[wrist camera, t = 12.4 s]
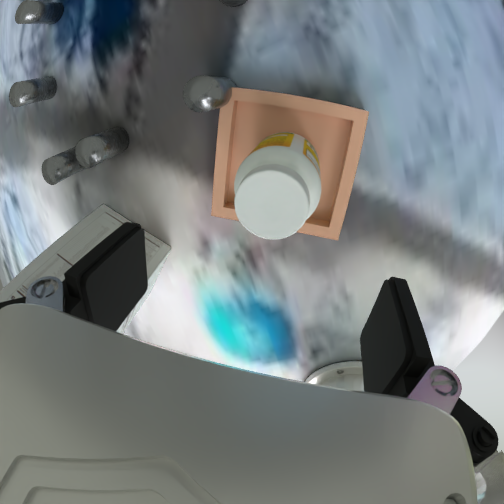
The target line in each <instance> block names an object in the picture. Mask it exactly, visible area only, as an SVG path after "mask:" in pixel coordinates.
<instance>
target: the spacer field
mask: <svg viewBox="0 0 504 504" xmlns="http://www.w3.org/2000/svg"><path fill="white" fill-rule="evenodd" d="M219 1H221V2H222V3H223V4H225V5H227V6H230V7H236V6H240V5H242V4H244V3H245V2H246V1H247V0H219ZM63 10H64V8H63V5H62V4H61V3H56V2H47V1H34V0H25V1H23V2H22V3H21V4H20V5H19V7H18V9H17V11H16V15H15V21H16V23H18V24H54V23H56V22H57V21H58V20H59V19H60V18H61V16H62V14H63ZM231 87H237V86H236V84H235V83H234V82H233V81H232V80H231V79H229V78H227V77H218V76H196V77H194V78H192V79H191V80H189V81H188V82H187V84H186V85H185V88H184V91H183V98H184V101H185V103H186V105H187V106H188V107H189V108H190V109H191V110H193V111H196V112H206V111H210V110H214V109H217V108H221V107H223V106H225V105H226V104H227V103H228V102H229V101H230V99H231V96H232V88H231ZM56 89H57V84H56V80H55V79H54V78H53V77H44V78H38V79H32V80H26V81H21V82H16V83H14V84H13V85H12V87H11V89H10V93H9V99H10V103H11V105H12V106H13V107H19V106H22V105H26V104H30V103H34V102H38V101H42V100H46V99H50V98H52V97H53V96H54V95H55V93H56ZM128 145H129V136H128V134H127V132H126V131H125V130H124V129H123V128H120V127H115V128H112V129H109V130H106V131H103V132H100V133H98V134H95V135H92V136H89V137H86V138H84V139H81V140H80V141H79V142H78V144H77V146H76V147H74V148H72V149H69V150H67V151H64V152H62V153H60V154H57V155H55V156H53V157H51V158H48V159H46V160H45V161H44V162H43V164H42V174H43V177H44V179H45V181H46V182H47V183H49V184H51V185H54V184H56V183H58V182H60V181H62V180H64V179H65V178H67V177H69V176H71V175H73V174H75V173H77V172H79V171H80V170H82V169H84V168H90V167H93V166H95V165H97V164H99V163H101V162H103V161H105V160H107V159H109V158H111V157H113V156H115V155H117V154H120V153H122V152H124V151H125V150H126V149H127V147H128Z"/></svg>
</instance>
